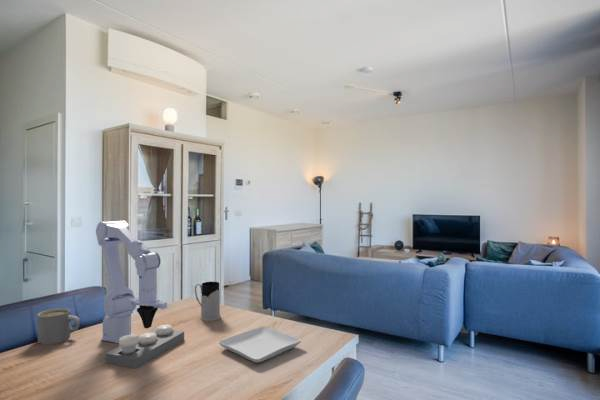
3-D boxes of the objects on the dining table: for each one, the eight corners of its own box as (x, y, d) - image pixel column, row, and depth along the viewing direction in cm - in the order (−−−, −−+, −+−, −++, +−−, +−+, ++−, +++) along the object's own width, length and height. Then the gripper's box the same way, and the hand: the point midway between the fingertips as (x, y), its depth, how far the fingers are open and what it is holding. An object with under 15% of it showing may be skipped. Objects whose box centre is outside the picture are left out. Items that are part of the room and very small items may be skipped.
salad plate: (216, 350, 126) (217, 340, 126) (263, 333, 142) (263, 324, 142) (256, 370, 112) (256, 359, 112) (303, 349, 127) (303, 339, 127)
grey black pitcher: (209, 322, 153) (210, 287, 153) (187, 316, 161) (187, 282, 161) (224, 316, 160) (225, 282, 160) (202, 311, 168) (202, 278, 168)
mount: (105, 362, 116) (105, 353, 116) (157, 335, 138) (157, 327, 138) (135, 368, 112) (135, 358, 112) (184, 339, 135) (184, 331, 135)
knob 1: (115, 355, 115) (115, 340, 115) (128, 348, 121) (128, 333, 121) (129, 358, 114) (129, 342, 113) (142, 351, 119) (142, 335, 119)
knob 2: (135, 352, 123) (135, 337, 123) (147, 345, 129) (147, 331, 129) (148, 354, 122) (148, 339, 122) (160, 348, 127) (160, 333, 127)
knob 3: (152, 342, 131) (152, 329, 131) (163, 337, 137) (163, 323, 137) (165, 344, 130) (165, 330, 130) (175, 339, 135) (175, 325, 135)
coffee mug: (30, 344, 130) (30, 316, 130) (50, 333, 140) (50, 307, 140) (67, 344, 129) (67, 316, 129) (84, 334, 139) (84, 308, 139)
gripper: (172, 287, 126) (172, 326, 127) (139, 283, 131) (139, 321, 131) (158, 292, 120) (158, 333, 120) (124, 288, 124) (124, 327, 125)
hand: (147, 327), depth 125 cm, fingers closed
